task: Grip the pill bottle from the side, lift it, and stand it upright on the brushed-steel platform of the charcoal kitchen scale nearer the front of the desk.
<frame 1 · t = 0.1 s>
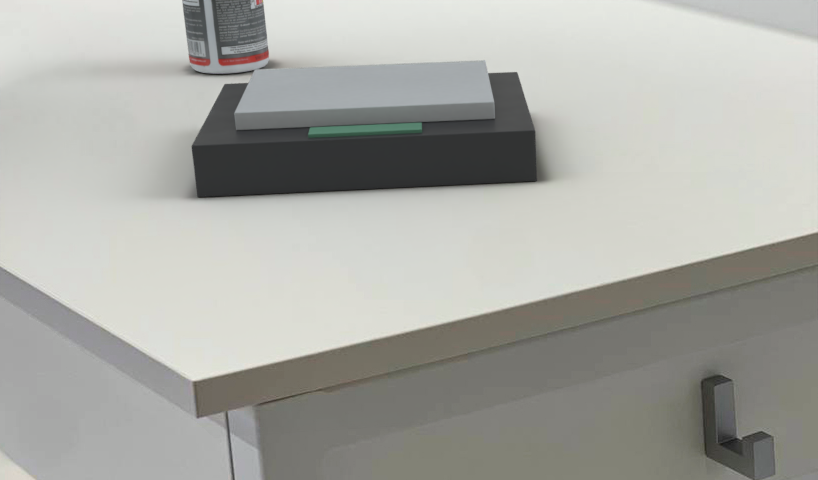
scale: (372, 153, 94), on the table
pill bottle: (230, 70, 119), on the table
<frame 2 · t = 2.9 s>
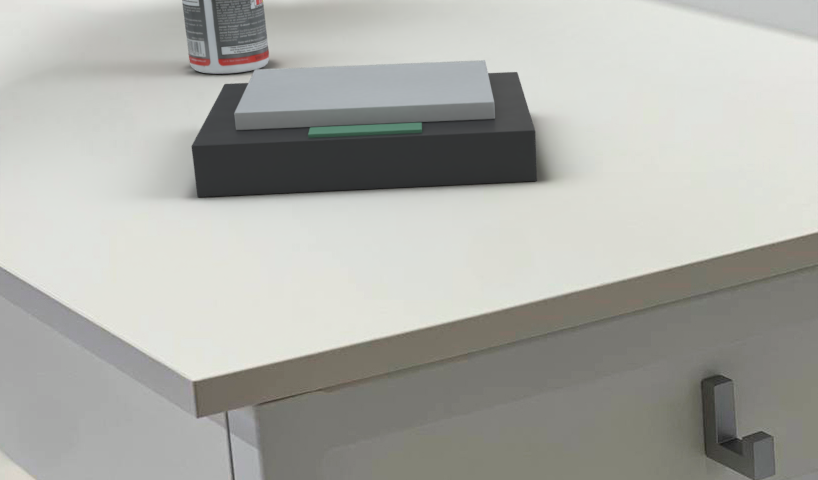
nothing on the table moved.
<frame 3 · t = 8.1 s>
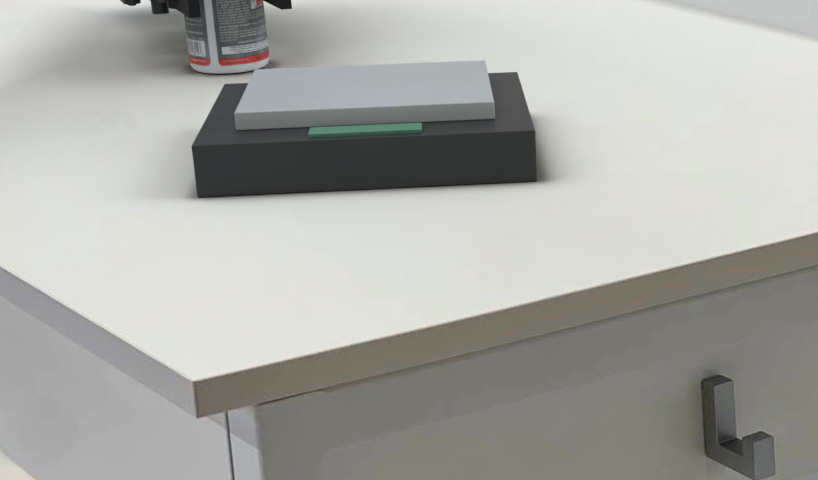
pill bottle: (230, 70, 119), on the table, touching gripper
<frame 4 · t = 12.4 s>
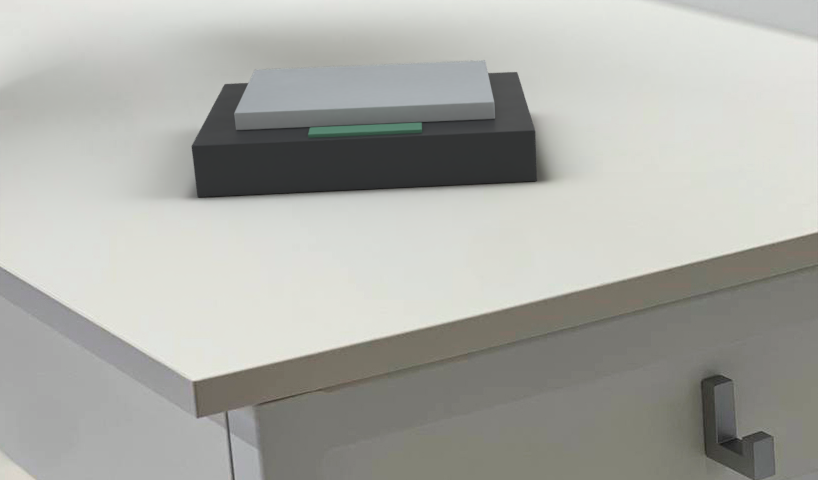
when the fingers open (10 cm above the table, at t = 16.8 s): pill bottle stays where it is, resting on scale.
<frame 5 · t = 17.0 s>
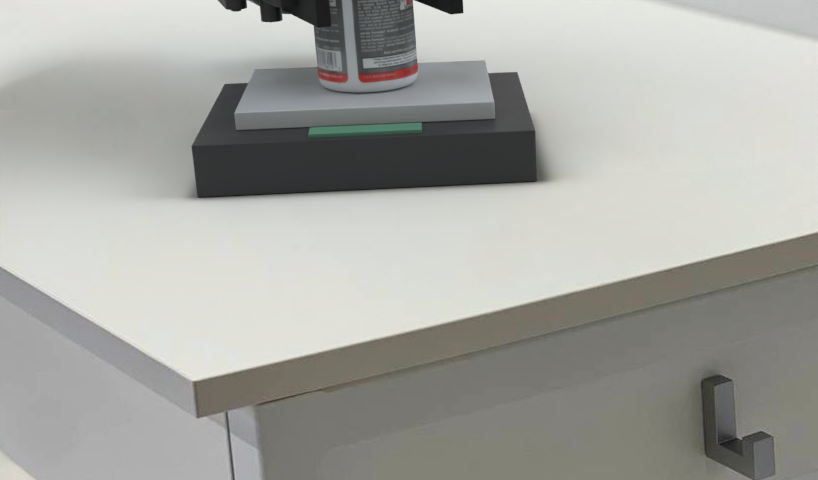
pill bottle: (369, 87, 93), point 4 cm above the table, touching scale
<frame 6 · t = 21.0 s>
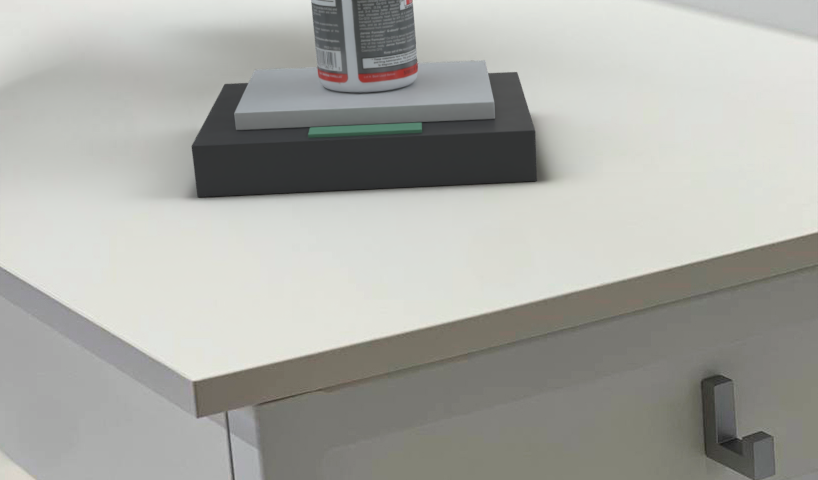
nothing on the table moved.
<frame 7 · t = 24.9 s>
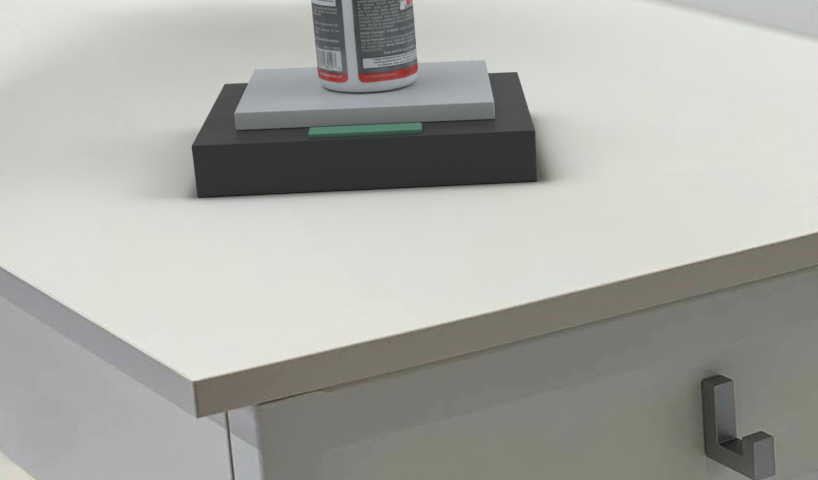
nothing on the table moved.
at the end: pill bottle inside the target area on the scale (0.0 cm from its centre), point 3.6 cm above the scale's base; pill bottle tilted 0°; the gripper is holding nothing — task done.
